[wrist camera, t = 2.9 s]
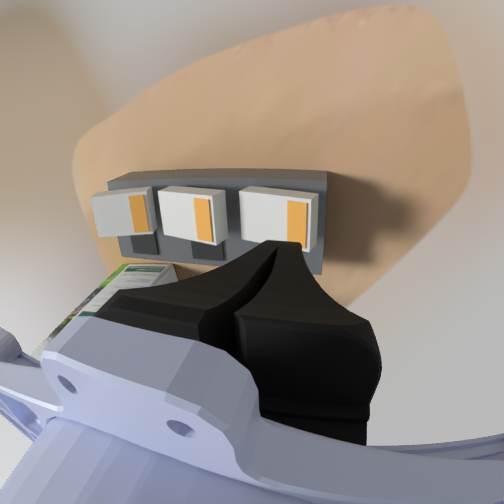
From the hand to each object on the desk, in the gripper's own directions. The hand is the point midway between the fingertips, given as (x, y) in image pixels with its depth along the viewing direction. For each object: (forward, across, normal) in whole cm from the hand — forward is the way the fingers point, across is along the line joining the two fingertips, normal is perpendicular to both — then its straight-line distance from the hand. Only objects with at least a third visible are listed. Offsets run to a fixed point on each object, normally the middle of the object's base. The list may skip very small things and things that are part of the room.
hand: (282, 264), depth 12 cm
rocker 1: (+5, +11, 0) cm, 12 cm away
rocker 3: (+5, +1, 0) cm, 5 cm away
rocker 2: (+5, +6, 0) cm, 8 cm away
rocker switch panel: (+10, +6, +1) cm, 12 cm away
